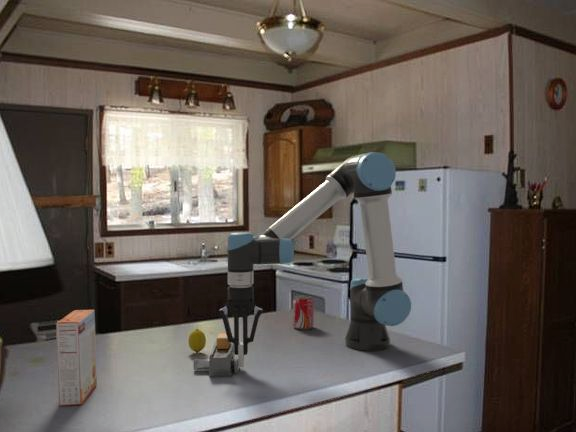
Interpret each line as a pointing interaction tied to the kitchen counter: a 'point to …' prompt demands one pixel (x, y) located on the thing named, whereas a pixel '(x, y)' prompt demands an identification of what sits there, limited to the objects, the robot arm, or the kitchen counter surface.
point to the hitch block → (221, 361)
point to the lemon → (197, 340)
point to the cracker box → (76, 357)
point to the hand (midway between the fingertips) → (241, 365)
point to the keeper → (223, 342)
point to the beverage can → (303, 312)
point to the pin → (204, 364)
